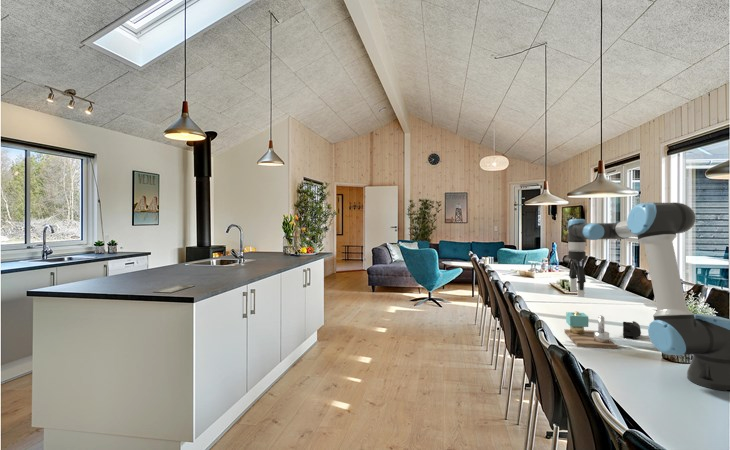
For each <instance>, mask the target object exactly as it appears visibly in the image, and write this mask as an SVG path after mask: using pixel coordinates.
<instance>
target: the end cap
mask: <svg viewBox="0 0 730 450" xmlns="http://www.w3.org/2000/svg"><path fill="white" fill-rule="evenodd" d="M622 326H623V327H622V338H623V339H625V338H626V339H627V340H636V339H638V338H639V337H640V336H641V335H642V331H641V327H640V324H639V323H638V322H637V321H634V320H633V321H632V322H630V321H622Z"/></svg>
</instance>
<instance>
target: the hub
mask: <svg viewBox="0 0 730 450" xmlns="http://www.w3.org/2000/svg"><path fill="white" fill-rule="evenodd" d="M580 313H581V312H579V311H575V312H574V315H580ZM569 329H570V332H571V333H573V334H584V330H585V327H576V326H570V325H569Z"/></svg>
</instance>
